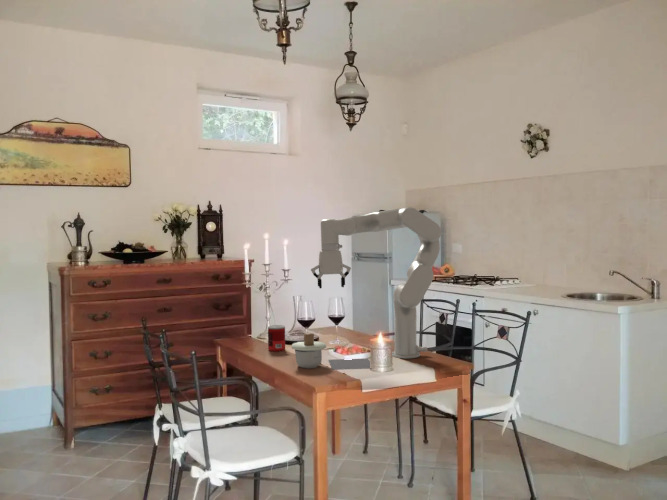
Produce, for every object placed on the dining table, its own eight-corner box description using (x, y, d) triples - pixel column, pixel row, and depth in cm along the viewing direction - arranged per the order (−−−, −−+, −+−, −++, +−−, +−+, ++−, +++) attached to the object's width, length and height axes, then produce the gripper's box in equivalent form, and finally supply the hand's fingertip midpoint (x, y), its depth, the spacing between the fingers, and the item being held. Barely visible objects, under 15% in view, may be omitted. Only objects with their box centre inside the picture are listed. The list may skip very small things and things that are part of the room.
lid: (324, 343, 249) (324, 330, 248) (327, 350, 235) (327, 336, 235) (291, 344, 247) (291, 331, 247) (292, 351, 233) (292, 337, 233)
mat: (367, 359, 253) (367, 358, 253) (374, 369, 236) (374, 368, 236) (328, 360, 251) (328, 359, 251) (332, 370, 234) (332, 369, 234)
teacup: (318, 371, 234) (318, 351, 233) (291, 369, 236) (291, 350, 236) (326, 363, 247) (326, 344, 247) (301, 361, 250) (300, 343, 249)
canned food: (288, 349, 275) (288, 325, 275) (279, 352, 268) (278, 328, 267) (274, 347, 279) (274, 324, 278) (264, 350, 272) (264, 327, 271)
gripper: (348, 246, 259) (349, 285, 260) (309, 248, 257) (310, 287, 258) (351, 247, 252) (352, 287, 253) (311, 249, 249) (312, 289, 250)
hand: (331, 287), depth 255 cm, fingers open, 9 cm apart
